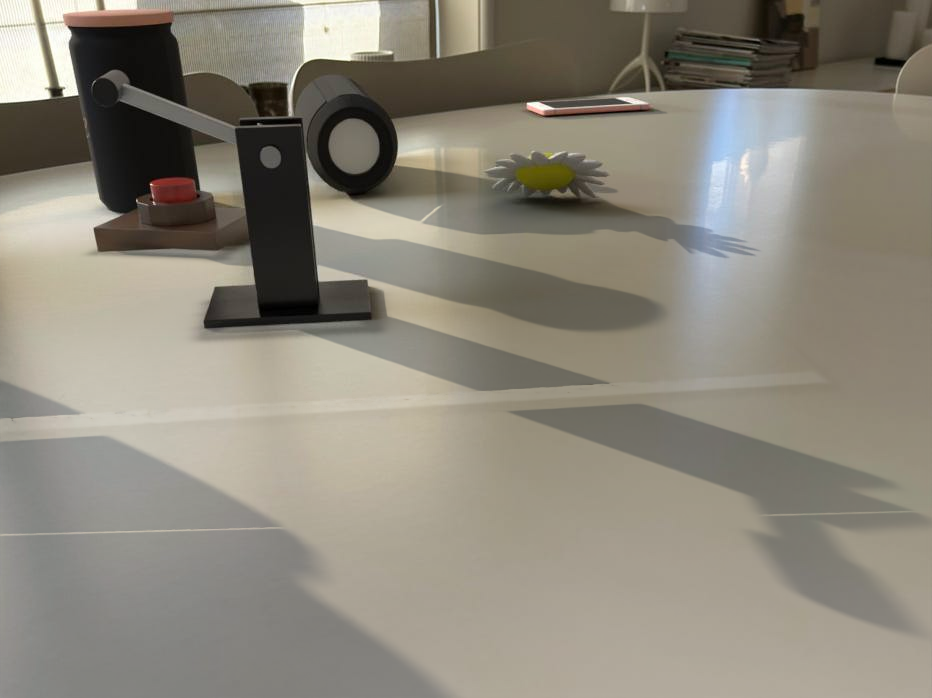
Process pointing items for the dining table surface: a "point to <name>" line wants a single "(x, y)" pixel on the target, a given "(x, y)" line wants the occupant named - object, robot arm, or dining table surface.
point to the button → (173, 190)
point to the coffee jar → (122, 125)
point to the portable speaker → (346, 134)
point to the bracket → (281, 238)
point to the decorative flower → (547, 173)
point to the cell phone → (587, 106)
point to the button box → (174, 226)
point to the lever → (158, 106)
